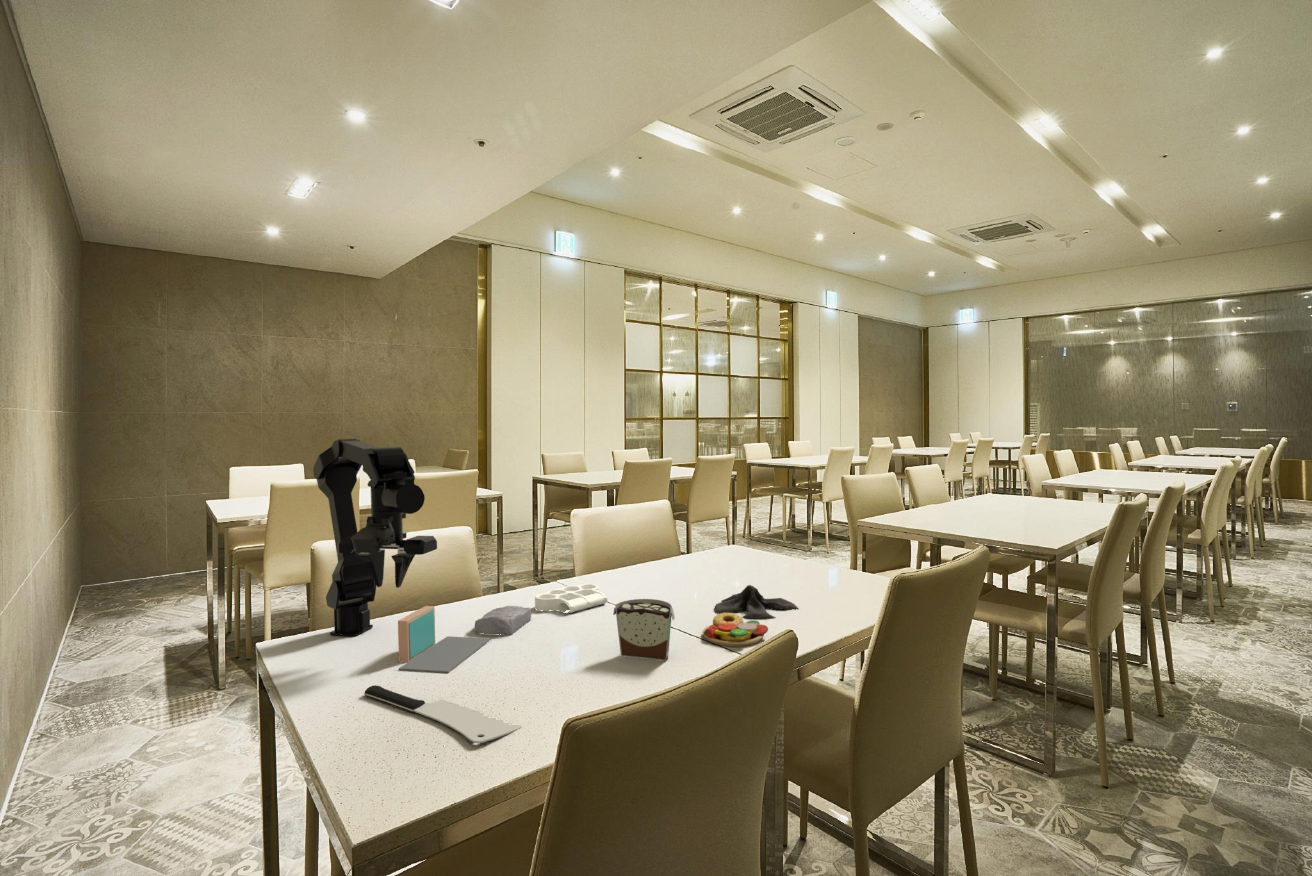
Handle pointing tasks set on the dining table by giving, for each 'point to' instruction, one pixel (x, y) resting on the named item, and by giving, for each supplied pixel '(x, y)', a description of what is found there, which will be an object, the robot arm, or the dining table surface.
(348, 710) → the dining table surface
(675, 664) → the dining table surface
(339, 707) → the dining table surface
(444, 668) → the mat
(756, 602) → the cloth
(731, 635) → the toy food set
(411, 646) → the tan flat block
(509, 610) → the stone block
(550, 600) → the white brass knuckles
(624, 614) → the food container
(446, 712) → the kitchen cleaver
